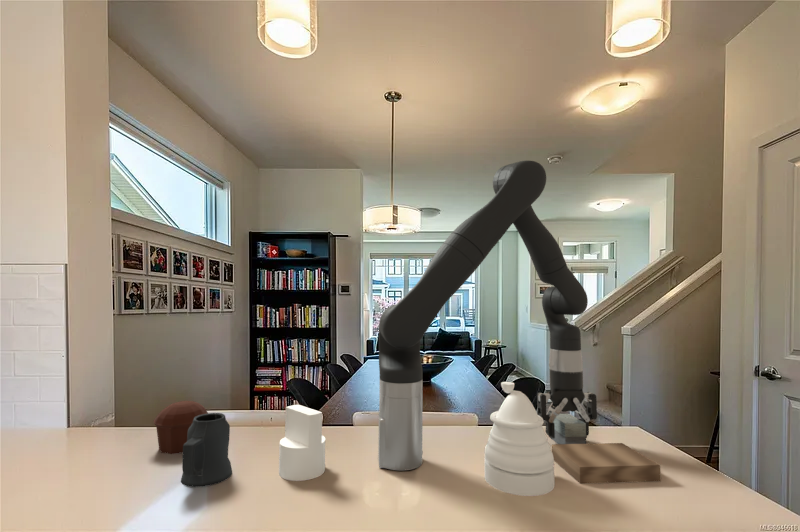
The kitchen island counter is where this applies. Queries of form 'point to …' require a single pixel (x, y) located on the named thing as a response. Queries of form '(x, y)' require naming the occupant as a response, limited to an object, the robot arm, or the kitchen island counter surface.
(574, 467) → the walnut stand
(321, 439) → the base with upright slab
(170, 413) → the muffin
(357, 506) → the kitchen island counter surface
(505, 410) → the honey pot
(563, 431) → the block
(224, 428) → the mug
